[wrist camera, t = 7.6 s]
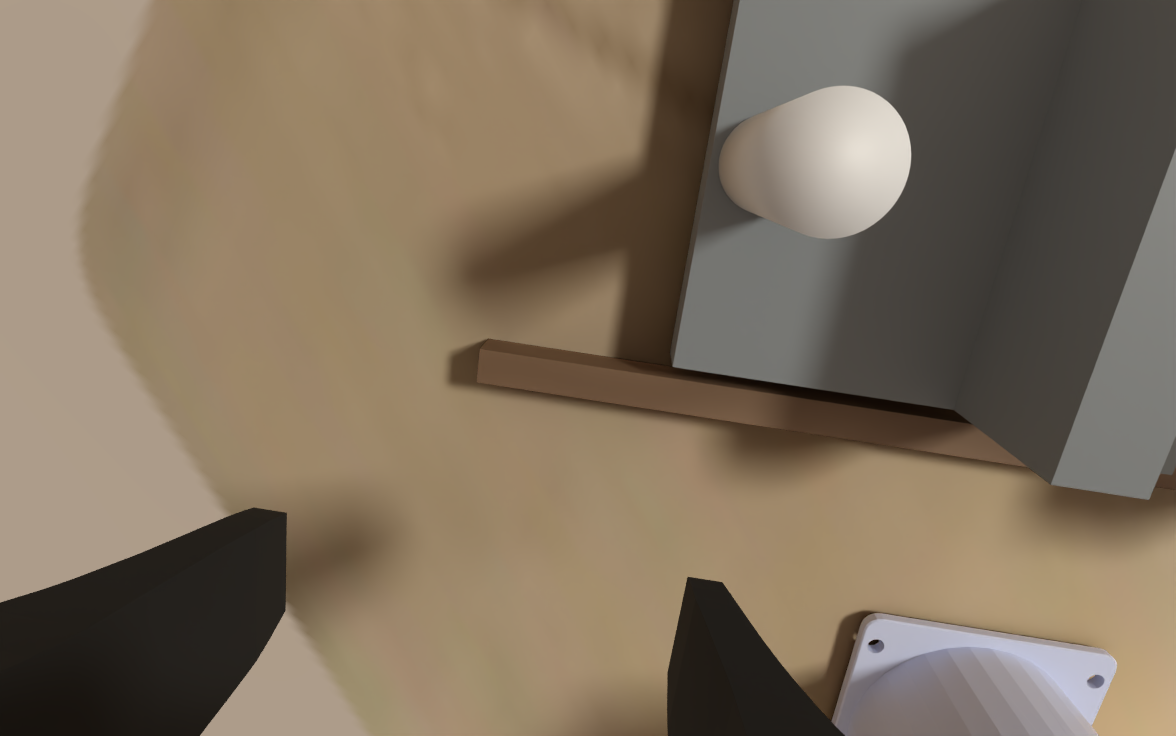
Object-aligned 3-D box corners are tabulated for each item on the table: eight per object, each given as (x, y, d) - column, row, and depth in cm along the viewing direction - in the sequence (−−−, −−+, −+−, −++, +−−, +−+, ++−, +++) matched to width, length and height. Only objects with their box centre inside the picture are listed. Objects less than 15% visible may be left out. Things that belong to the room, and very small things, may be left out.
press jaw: (1017, 405, 20) (1234, 542, 13) (669, 352, 20) (689, 457, 13) (1163, -20, 17) (1563, -159, 9) (747, -76, 17) (830, -254, 10)
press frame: (1353, 503, 20) (1707, 671, 14) (485, 370, 21) (414, 467, 14) (1627, -26, 16) (2322, -157, 10) (539, -172, 17) (475, -393, 10)
